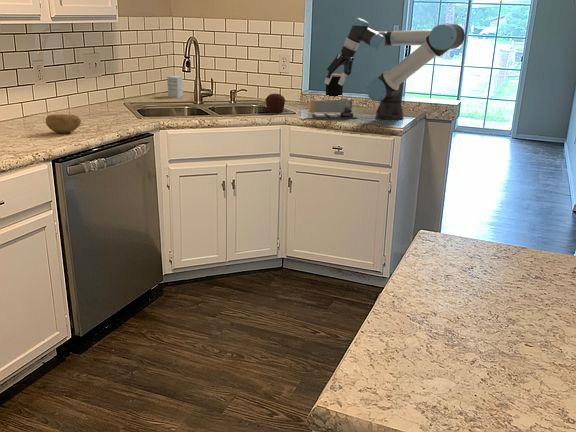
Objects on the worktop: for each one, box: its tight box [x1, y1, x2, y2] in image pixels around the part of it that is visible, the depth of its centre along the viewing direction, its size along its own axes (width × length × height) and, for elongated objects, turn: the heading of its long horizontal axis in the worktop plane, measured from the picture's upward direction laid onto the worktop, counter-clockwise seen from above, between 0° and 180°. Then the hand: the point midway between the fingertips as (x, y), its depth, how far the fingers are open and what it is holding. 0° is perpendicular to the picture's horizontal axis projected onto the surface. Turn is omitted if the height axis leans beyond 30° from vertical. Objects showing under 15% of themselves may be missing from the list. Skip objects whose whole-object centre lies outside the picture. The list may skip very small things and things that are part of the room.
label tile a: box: [324, 113, 341, 120], centre depth 312 cm, size 6×10×1 cm, turn 11°
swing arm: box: [308, 97, 354, 114], centre depth 310 cm, size 23×5×7 cm, turn 101°
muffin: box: [264, 93, 286, 114], centre depth 322 cm, size 12×11×10 cm
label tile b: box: [311, 113, 329, 120], centre depth 311 cm, size 6×10×1 cm, turn 11°
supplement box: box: [166, 75, 184, 99], centre depth 367 cm, size 7×7×13 cm
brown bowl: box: [45, 113, 82, 134], centre depth 246 cm, size 10×14×8 cm
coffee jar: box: [325, 73, 344, 96], centre depth 362 cm, size 11×11×18 cm
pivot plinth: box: [337, 112, 358, 120], centre depth 314 cm, size 9×9×3 cm
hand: (333, 84), depth 317 cm, fingers open, 13 cm apart
